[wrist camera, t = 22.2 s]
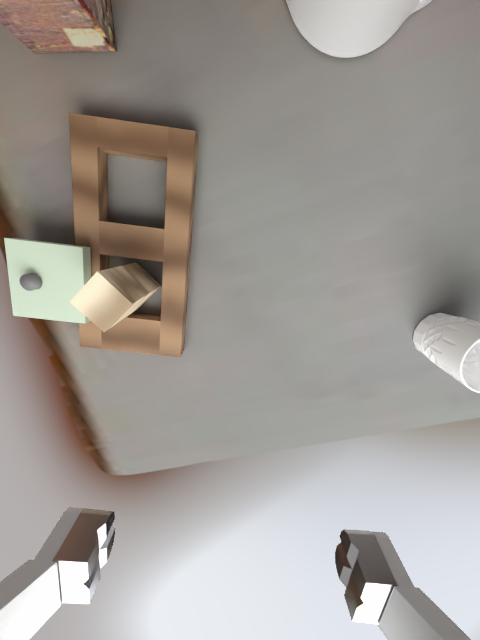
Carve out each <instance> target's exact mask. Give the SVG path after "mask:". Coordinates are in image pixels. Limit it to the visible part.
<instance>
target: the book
mask: <svg viewBox="0 0 480 640" xmlns="http://www.w3.org/2000/svg"><path fill="white" fill-rule="evenodd" d="M0 22H1V23H2V24H3V25H4V26H5V27H6V28H7V29H8V30H9V31H10V32H12V33H13V34H14V35H15V36H16V37H17V38H18V39H19V40H20V41H21V42H23V43H24V44H25V45H26V46H27V47H28V48H29V49H30V50H31V51H32V52H34V53H62V52H107V51H117V49H116V41H115V32H114V24H113V16H112V7H111V0H0Z"/></svg>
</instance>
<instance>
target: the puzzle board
mask: <svg viewBox="0 0 480 640" xmlns="http://www.w3.org/2000/svg"><path fill="white" fill-rule="evenodd" d="M69 123H70V144H71V166H72V187H73V209H74V230H75V245H77V246H85V247H90V254H91V278H92V276H93V275H94V274H95V273H96V272H97V271H101V270H105V269H109V255H111V256H119V257H127V258H136V259H144V260H152V261H160V262H163V275H162V299H161V316H158V315H149V314H141V313H131V314H130V315H128V316H127V317H125V318H124V319H123V320H121V321H120V322H118V323H117V324H115V325H114V326H113V327H111V328H110V329H108V330H107V331H106V332H103V331H102V330H101V329H100V328H99V327H97V326H96V325H95V324H94V323H93V322H92V321H89V322H87V323H86V324H84V323H79V337H80V346H81V347H90V348H99V349H109V350H118V351H127V352H137V353H146V354H155V355H164V356H174V357H181V355H182V353H183V351H184V339H185V325H186V311H187V296H188V282H189V267H190V253H191V238H192V224H193V209H194V195H195V180H196V166H197V151H198V136H197V134H196V131H193V130H186V129H179V128H172V127H165V126H158V125H151V124H144V123H137V122H130V121H123V120H116V119H109V118H102V117H95V116H89V115H82V114H75V113H69ZM107 154H114V155H121V156H128V157H135V158H143V159H150V160H157V161H164V162H167V179H166V203H165V227H164V229H159V228H151V227H143V226H135V225H128V224H120V223H112V222H108V179H107Z"/></svg>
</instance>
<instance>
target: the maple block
mask: <svg viewBox="0 0 480 640" xmlns="http://www.w3.org/2000/svg"><path fill="white" fill-rule="evenodd" d="M160 287H161V285H160V284H159V283H158V282H157V281H156V280H155V279H153V278H152V277H151V276H150V275H149V274H148V273H147V272H146V271H145V270H144V269H143V268H142V267H141V266H140V265H139V264H138V263H137V262H135V263H131V264H126V265H122V266H118V267H114V268H109V269H105V270H101V271H97V272H96V273H95V274H94V275H93V276H92V278H91V279H90V280H89V281H88V282H87V283H86V284H85V285H84V286H83V287H82V289H81V290H80V291H79V292H78V293H77V294H76V295H75V296H74V297H73V298H72V299H71V301H70V303H71V304H72V305H73V306H74V307H76V308H77V309H78V310H79V311H80V312H81V313H82V314H84V315H85V316H86V317H87V318H88V319H89V320H91V321H92V322H93V323H94V324H95V325H96V326H97V327H99V328H100V329H101V330H102V331H103V332H106V331H107V330H108V329H110V328H111V327H113V326H114V325H115V324H117V323H118V322H120V321H121V320H123V319H124V318H125V317H127V316H128V315H130V314H131V313H132V312H134V311H135V310H137V309H138V308H140V307H141V306H142V305H143V304H144V303H145V302H146V301H147V300H148V299H149V298H150V297H151V296H152V295H153V294H154V293H155V292H156V291H157V290H158V289H159V288H160Z"/></svg>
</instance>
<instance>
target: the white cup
mask: <svg viewBox="0 0 480 640" xmlns="http://www.w3.org/2000/svg"><path fill="white" fill-rule="evenodd" d="M413 342H414V344H415V347H416V349H417V350H419V351H420V352H421V353H422V354H424V355H425V356H426V357H428V358H429V360H431V361H432V362H433V363H435V364H436V365H437V366H438V367H440V368H441V369H443V370H444V371H445V372H447V373H448V374H450V375H451V376H452V377H454V378H455V379H457V380H458V381H459V382H461V383H462V384H463V385H465V386H466V387H468V388H469V389H470V390H472V391H475V392H478V393H480V322H478V321H475V320H471V319H466V318H463V317H457V316H453V315H450V314H445V313H436V314H432V315H429V316H427V317H426V318H425V319H423V320H422V321H420V323H419V324H418V326H417V327H416V329H415V330H414V336H413Z"/></svg>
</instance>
